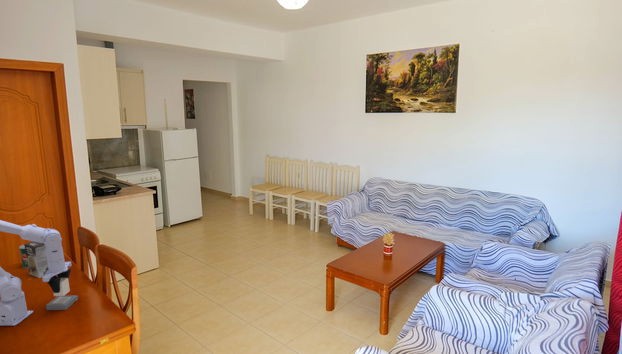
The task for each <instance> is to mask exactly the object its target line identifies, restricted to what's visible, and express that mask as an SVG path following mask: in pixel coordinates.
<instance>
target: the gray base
mask: <svg viewBox="0 0 622 354" xmlns="http://www.w3.org/2000/svg"><path fill="white" fill-rule="evenodd" d="M78 300H79V295H75V294H73V295H71V294H69V295H67V294H65V295H64V296H55V298H54V299H52V300H51V301H49V302H48V303H46V305H45V308H46V311H66V310H68V309H69V308H70V307H71V306H73V305H74V304H75V303H76V302H77V301H78ZM75 301H76V302H75ZM74 302H75V303H74ZM73 303H74V304H73Z"/></svg>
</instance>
